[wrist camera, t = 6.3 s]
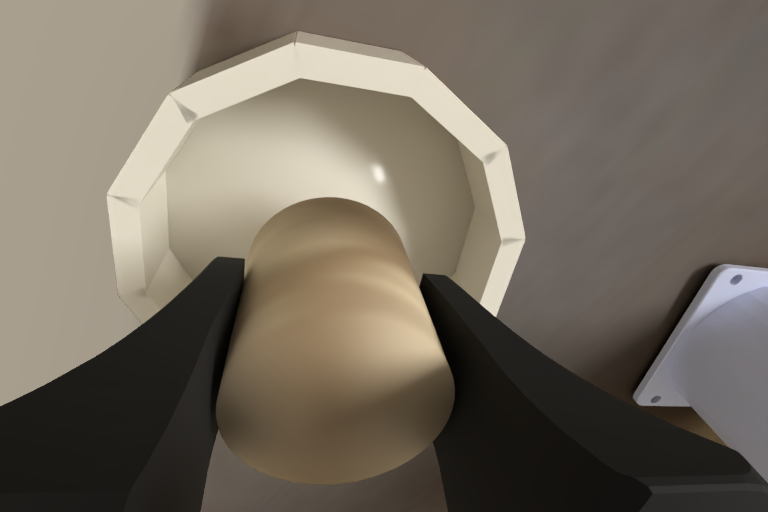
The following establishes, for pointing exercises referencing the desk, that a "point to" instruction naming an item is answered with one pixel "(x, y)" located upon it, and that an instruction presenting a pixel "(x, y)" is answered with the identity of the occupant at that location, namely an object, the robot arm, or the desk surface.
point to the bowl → (313, 167)
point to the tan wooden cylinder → (331, 350)
